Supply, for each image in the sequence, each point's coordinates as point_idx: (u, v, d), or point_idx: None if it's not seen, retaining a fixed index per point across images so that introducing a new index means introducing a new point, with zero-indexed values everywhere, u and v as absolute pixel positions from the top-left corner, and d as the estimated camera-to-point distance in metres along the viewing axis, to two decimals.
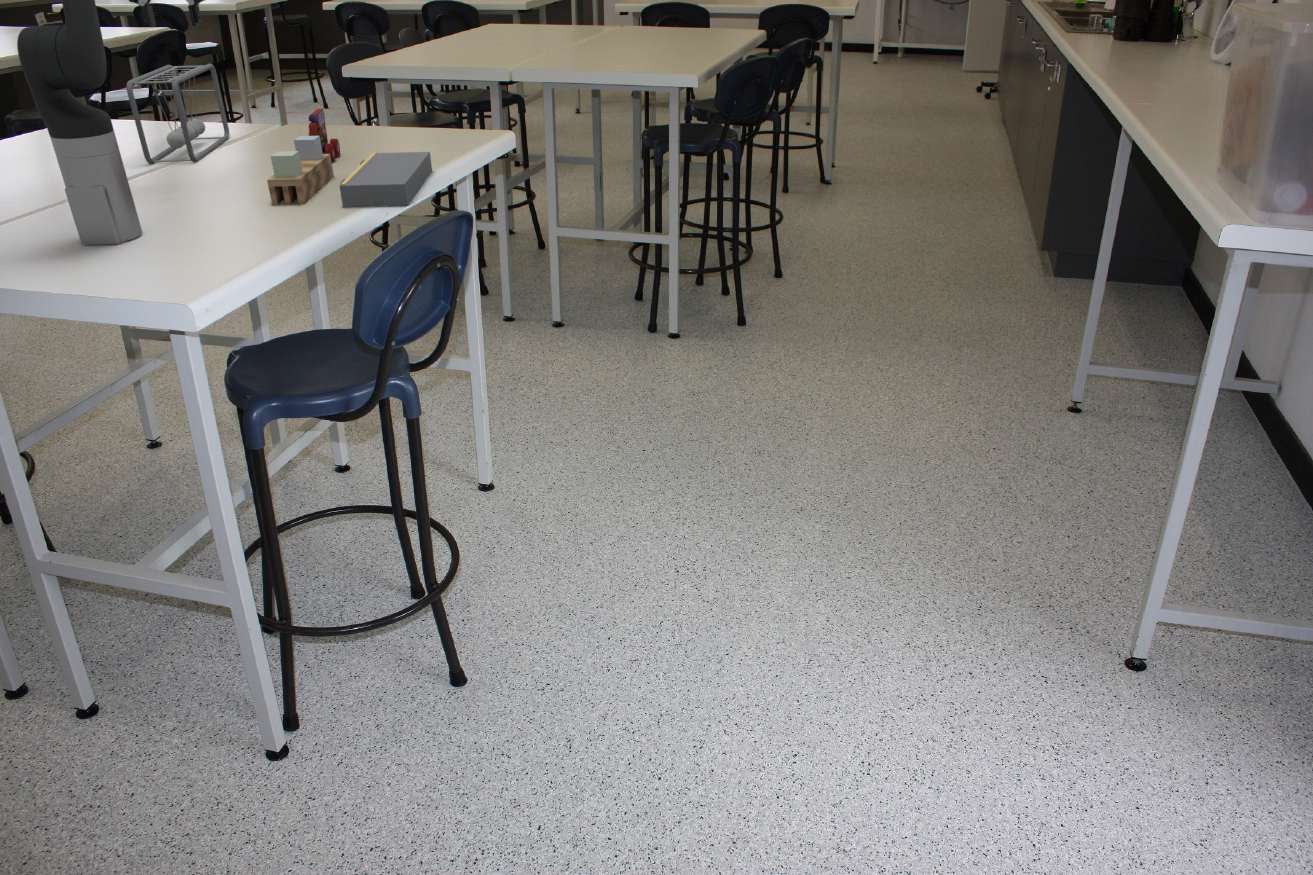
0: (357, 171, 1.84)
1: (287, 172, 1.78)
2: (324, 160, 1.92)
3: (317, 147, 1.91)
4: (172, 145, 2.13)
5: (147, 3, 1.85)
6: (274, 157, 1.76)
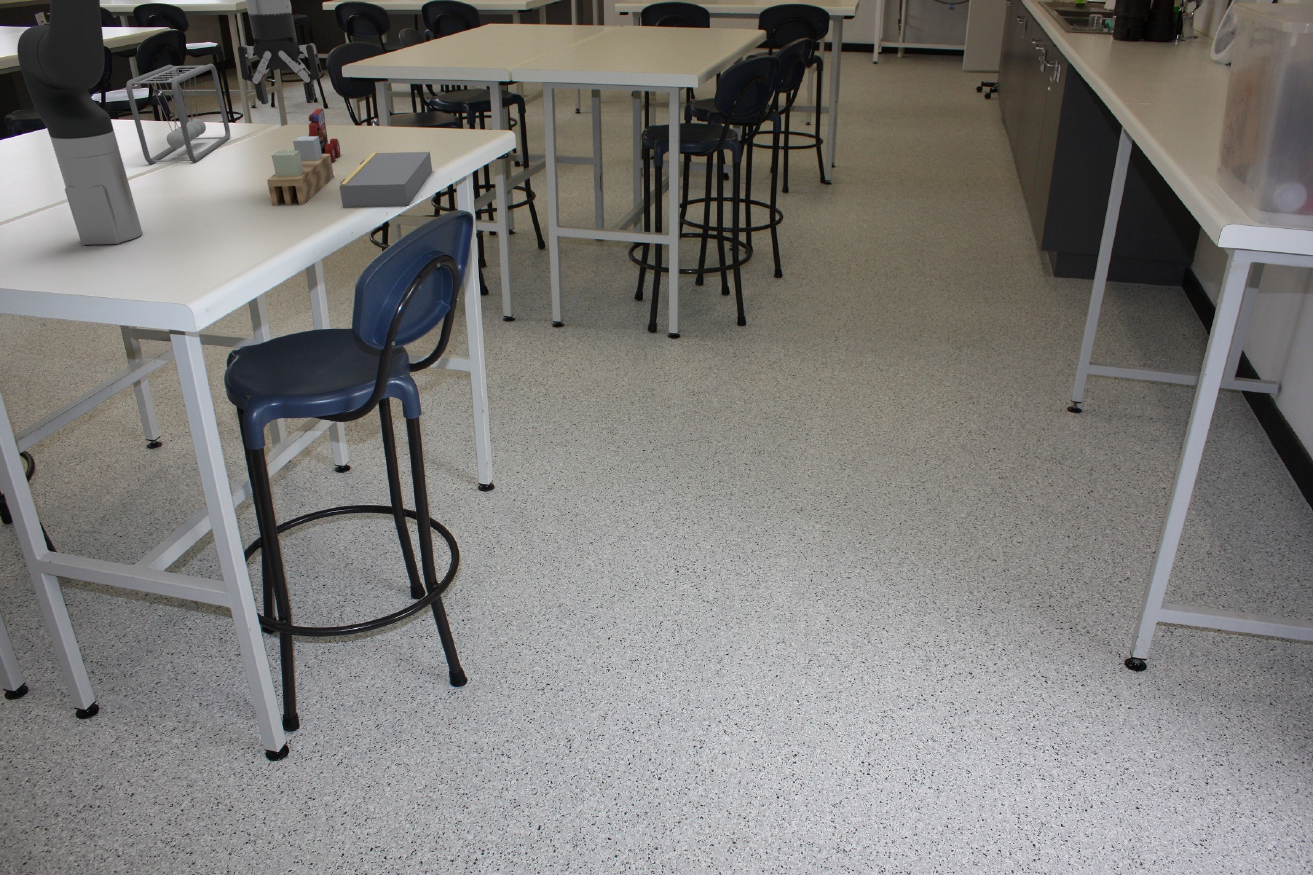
0: (357, 171, 1.84)
1: (288, 172, 1.78)
2: (324, 160, 1.92)
3: (316, 148, 1.91)
4: (172, 145, 2.13)
5: (261, 80, 1.78)
6: (275, 156, 1.77)
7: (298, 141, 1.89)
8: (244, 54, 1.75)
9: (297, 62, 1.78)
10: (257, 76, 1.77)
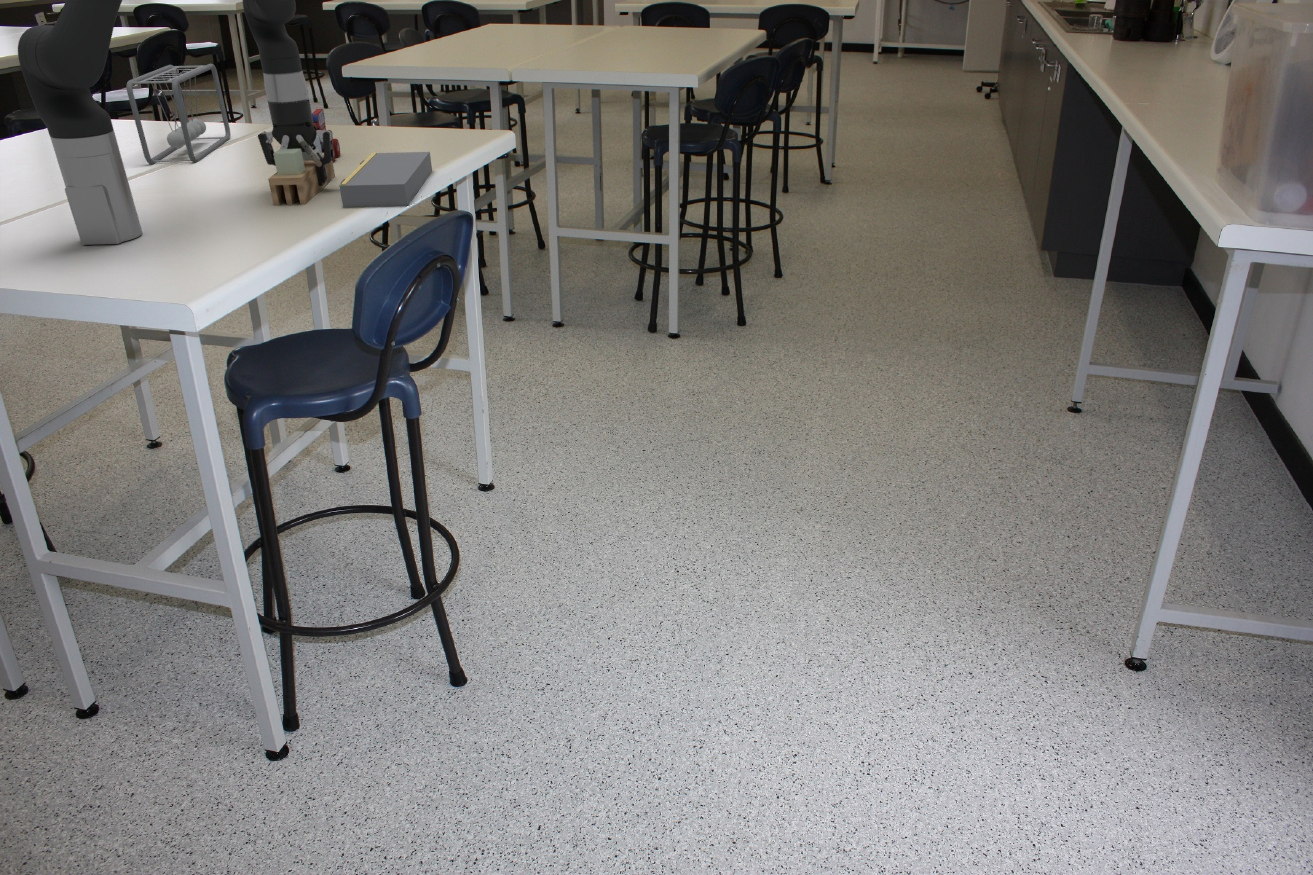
0: (357, 171, 1.84)
1: (290, 170, 1.78)
2: None
3: None
4: (172, 145, 2.13)
5: None
6: (277, 154, 1.77)
7: None
8: (265, 140, 1.83)
9: (312, 145, 1.86)
10: None
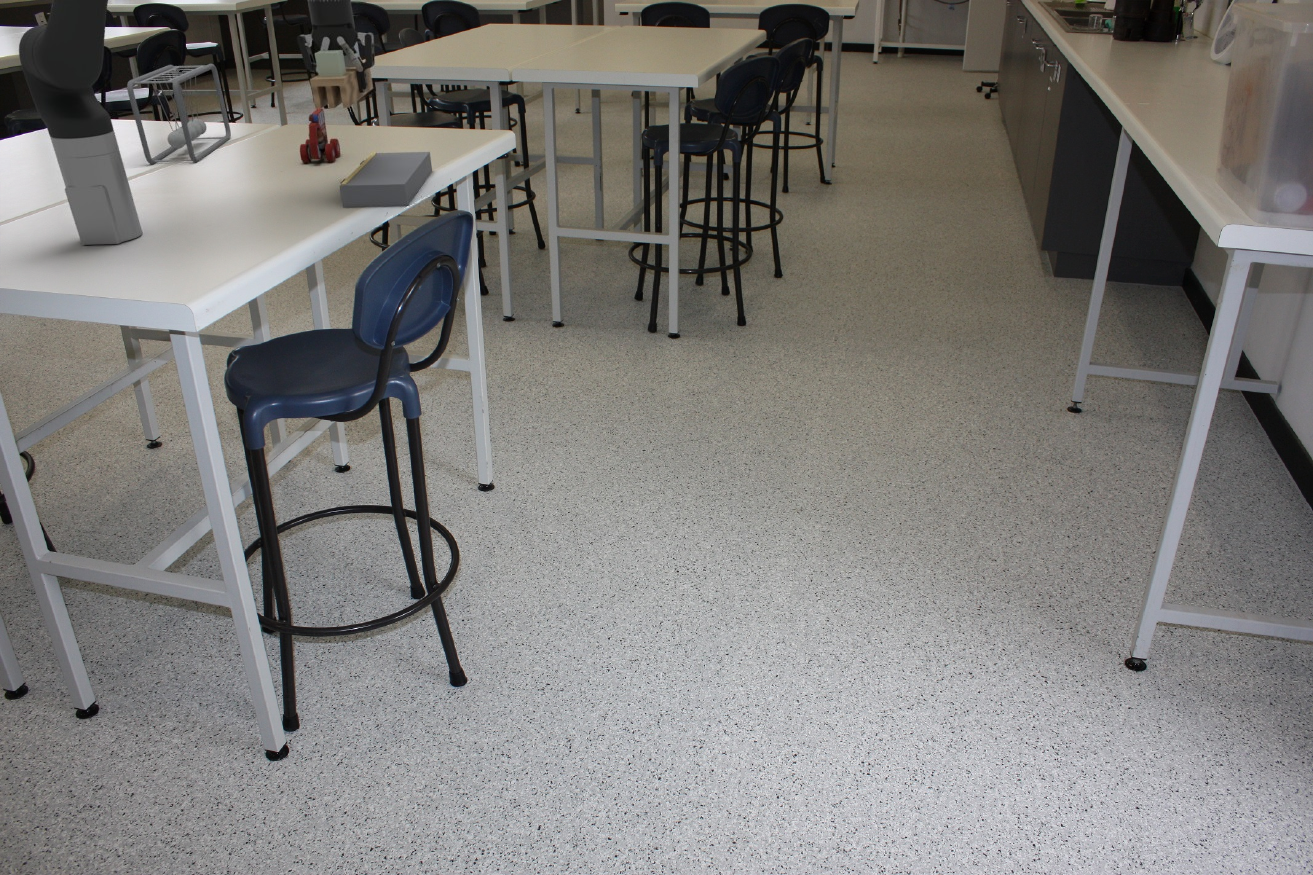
0: (357, 171, 1.84)
1: (332, 71, 1.71)
2: None
3: None
4: (173, 145, 2.13)
5: None
6: (318, 54, 1.70)
7: None
8: (304, 43, 1.75)
9: (352, 50, 1.78)
10: None
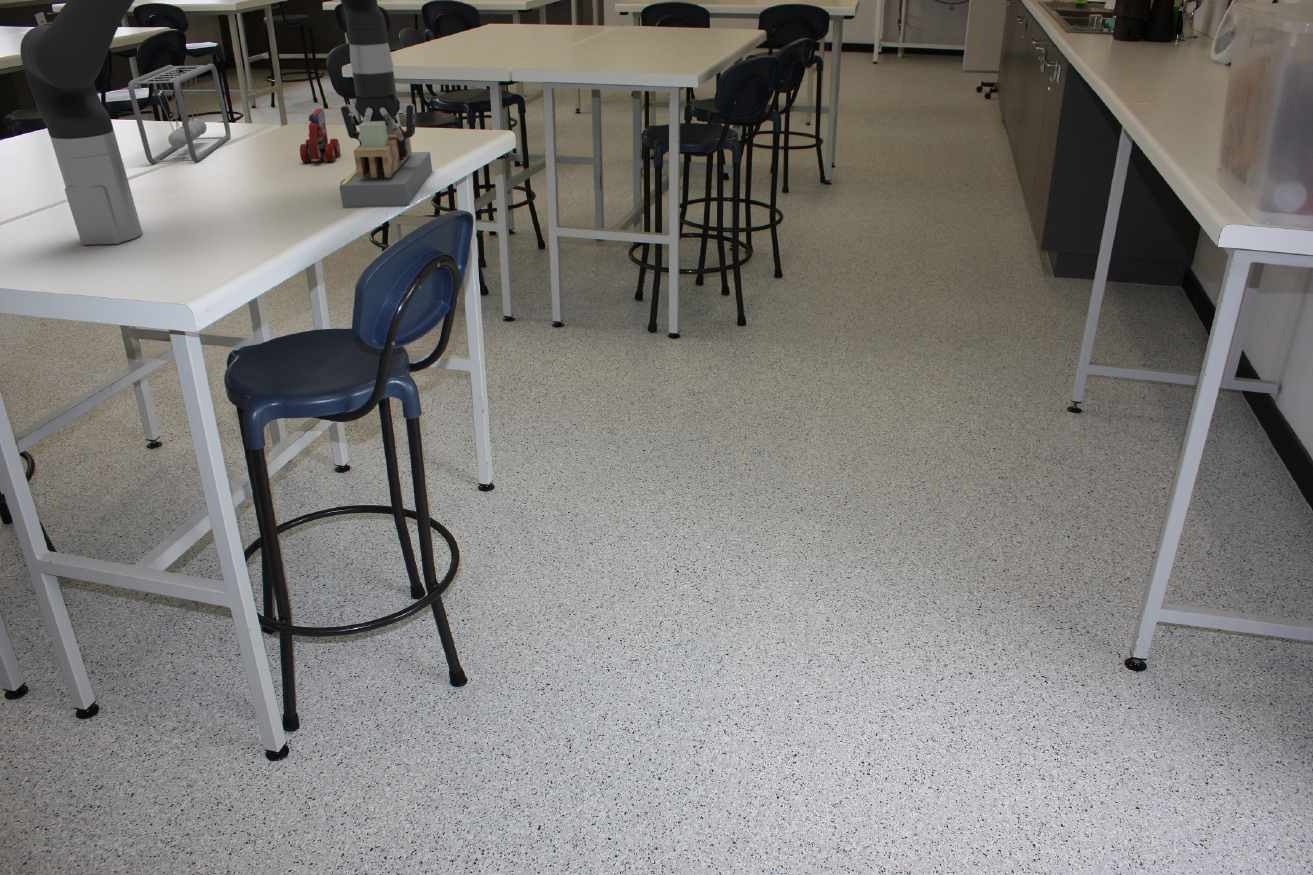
0: None
1: (375, 142, 1.77)
2: None
3: None
4: (174, 145, 2.13)
5: None
6: (362, 126, 1.75)
7: None
8: (347, 113, 1.81)
9: (394, 119, 1.84)
10: None
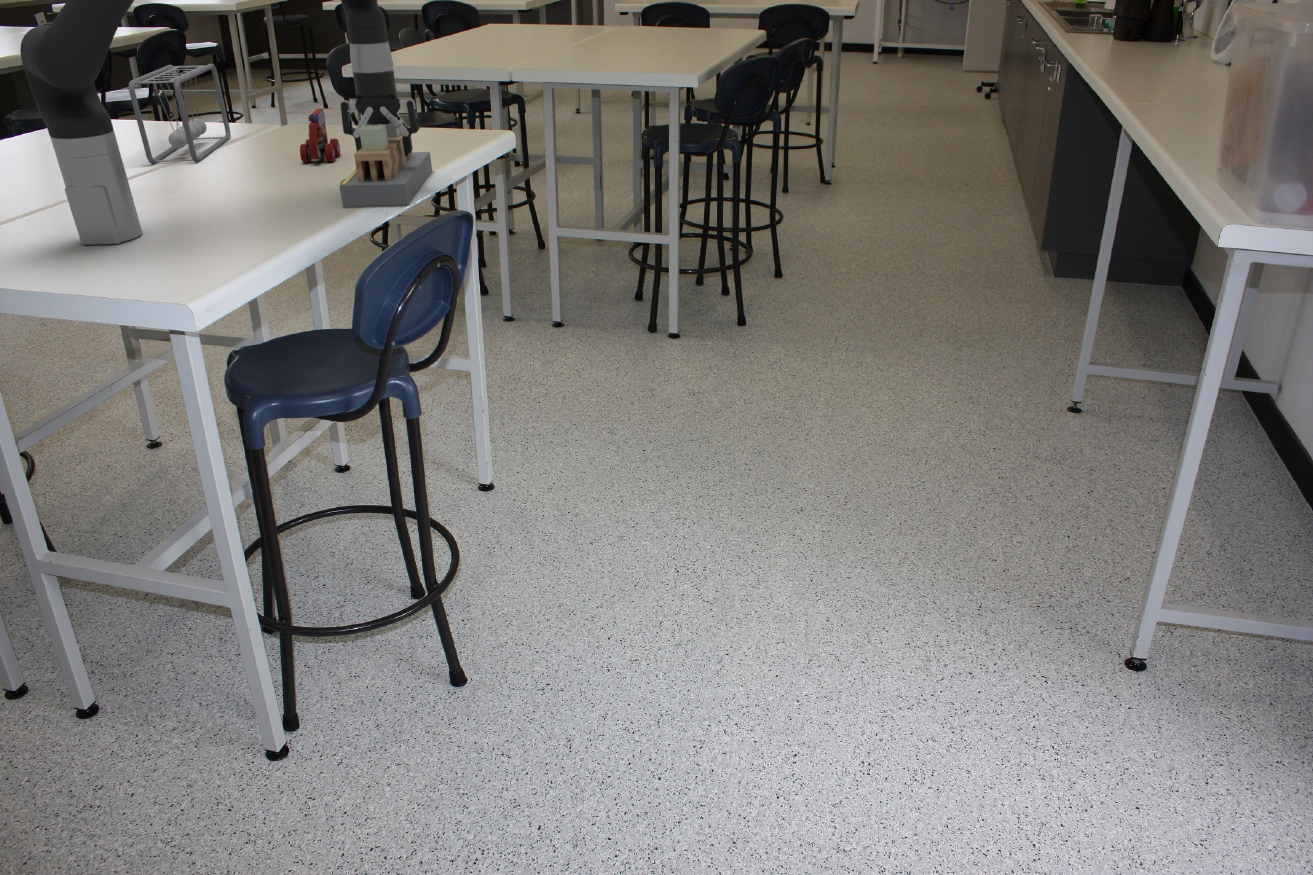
0: None
1: (375, 146, 1.77)
2: None
3: None
4: (174, 145, 2.13)
5: None
6: (362, 130, 1.76)
7: None
8: (346, 109, 1.80)
9: (396, 116, 1.84)
10: (358, 130, 1.82)
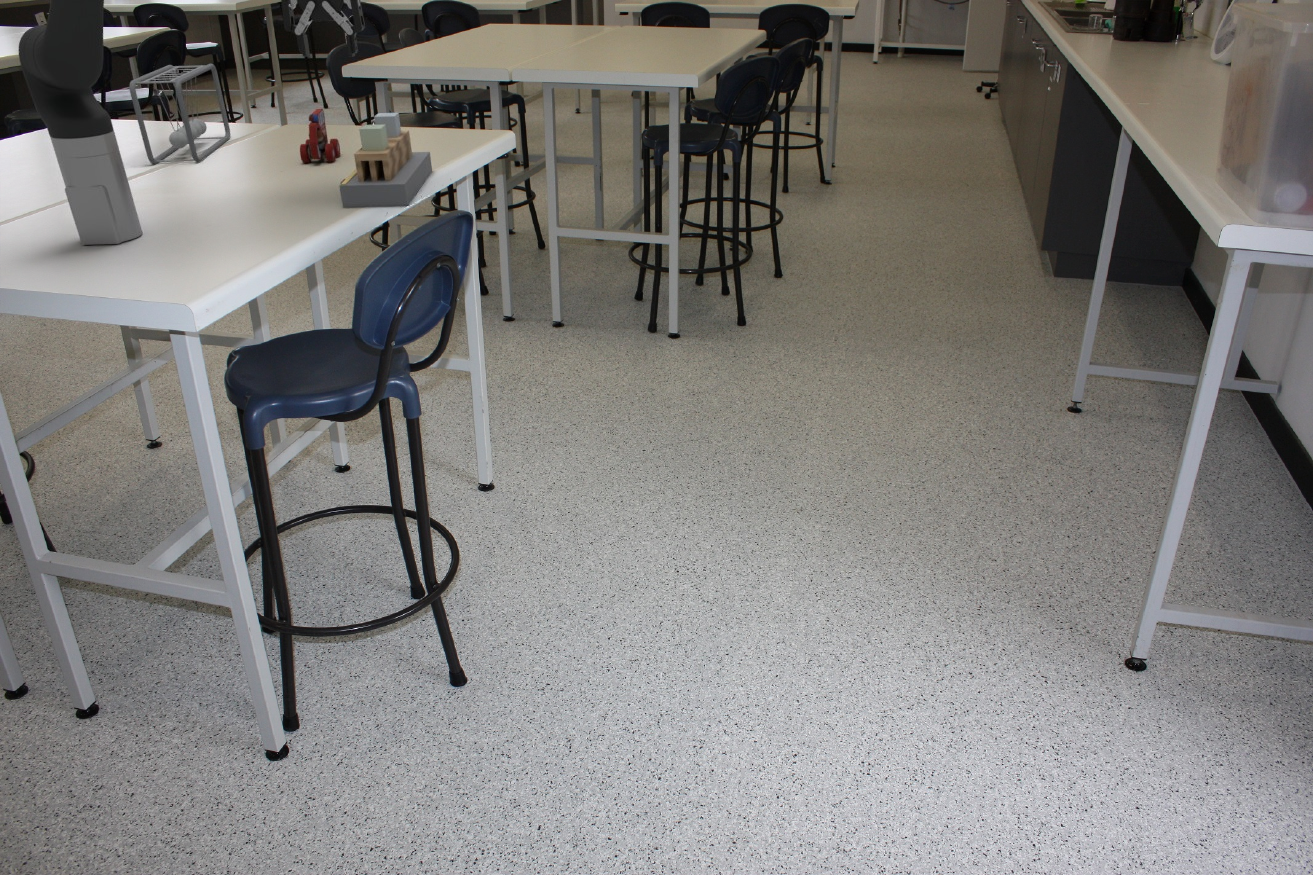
0: None
1: (375, 146, 1.77)
2: (405, 136, 1.91)
3: (397, 124, 1.89)
4: (175, 145, 2.13)
5: (303, 32, 1.76)
6: (362, 130, 1.76)
7: (379, 117, 1.87)
8: (287, 4, 1.73)
9: (340, 14, 1.76)
10: (299, 27, 1.74)
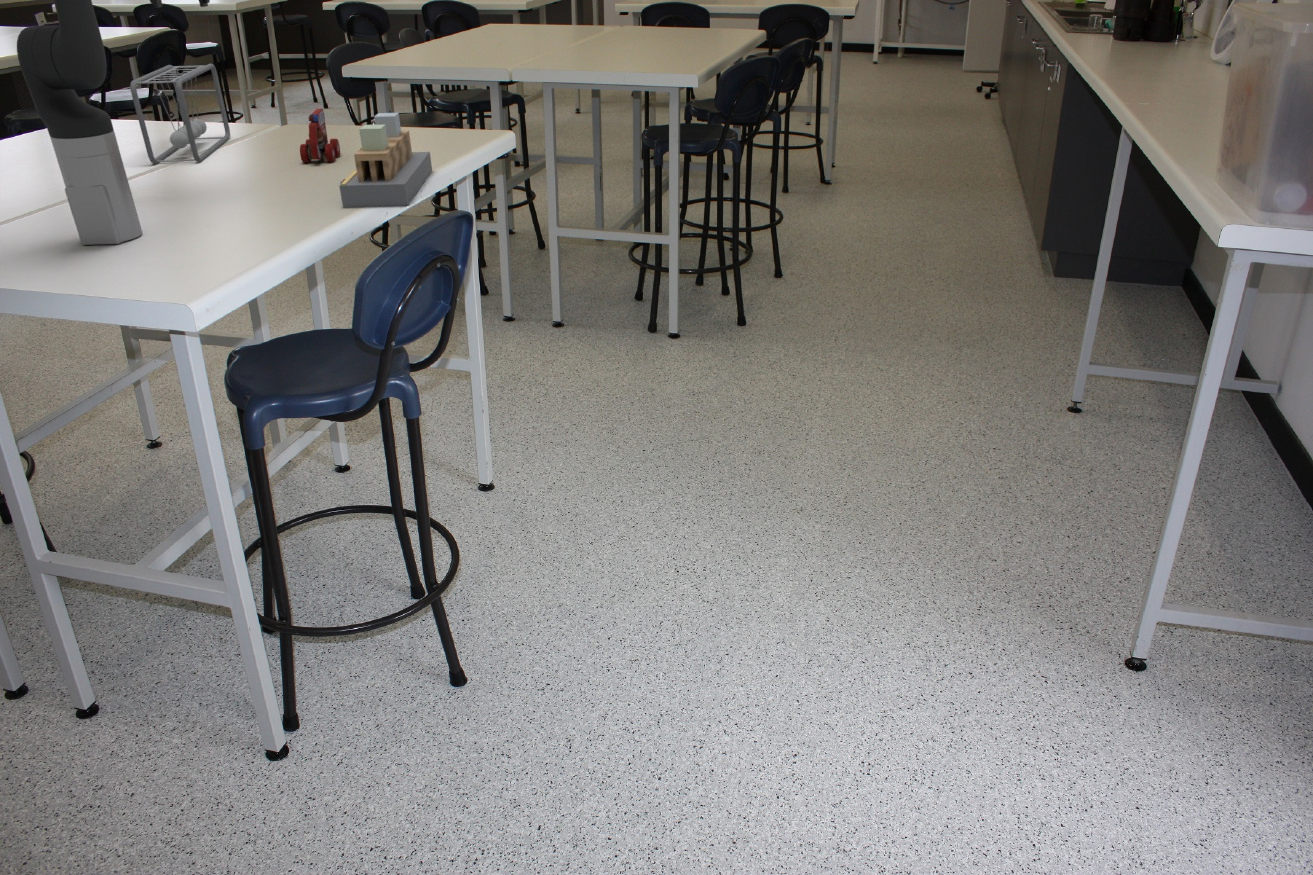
0: None
1: (375, 146, 1.77)
2: (405, 136, 1.91)
3: (397, 124, 1.89)
4: (175, 145, 2.13)
5: None
6: (362, 130, 1.76)
7: (379, 117, 1.87)
8: None
9: None
10: None
